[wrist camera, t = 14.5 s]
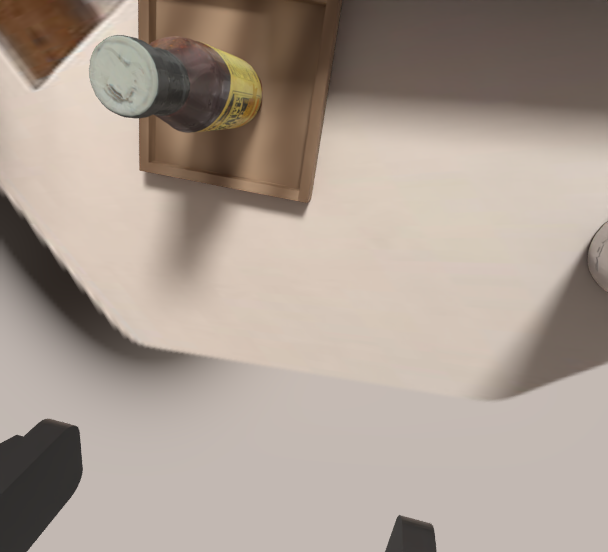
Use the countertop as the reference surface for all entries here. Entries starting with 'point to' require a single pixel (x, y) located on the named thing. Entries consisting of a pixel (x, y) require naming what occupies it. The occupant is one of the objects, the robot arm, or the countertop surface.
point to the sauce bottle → (175, 83)
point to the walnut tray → (276, 92)
